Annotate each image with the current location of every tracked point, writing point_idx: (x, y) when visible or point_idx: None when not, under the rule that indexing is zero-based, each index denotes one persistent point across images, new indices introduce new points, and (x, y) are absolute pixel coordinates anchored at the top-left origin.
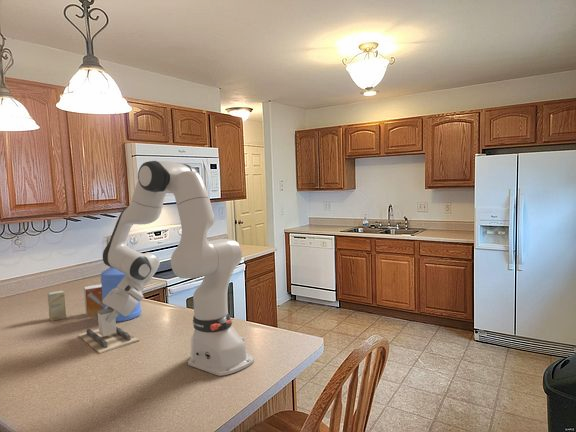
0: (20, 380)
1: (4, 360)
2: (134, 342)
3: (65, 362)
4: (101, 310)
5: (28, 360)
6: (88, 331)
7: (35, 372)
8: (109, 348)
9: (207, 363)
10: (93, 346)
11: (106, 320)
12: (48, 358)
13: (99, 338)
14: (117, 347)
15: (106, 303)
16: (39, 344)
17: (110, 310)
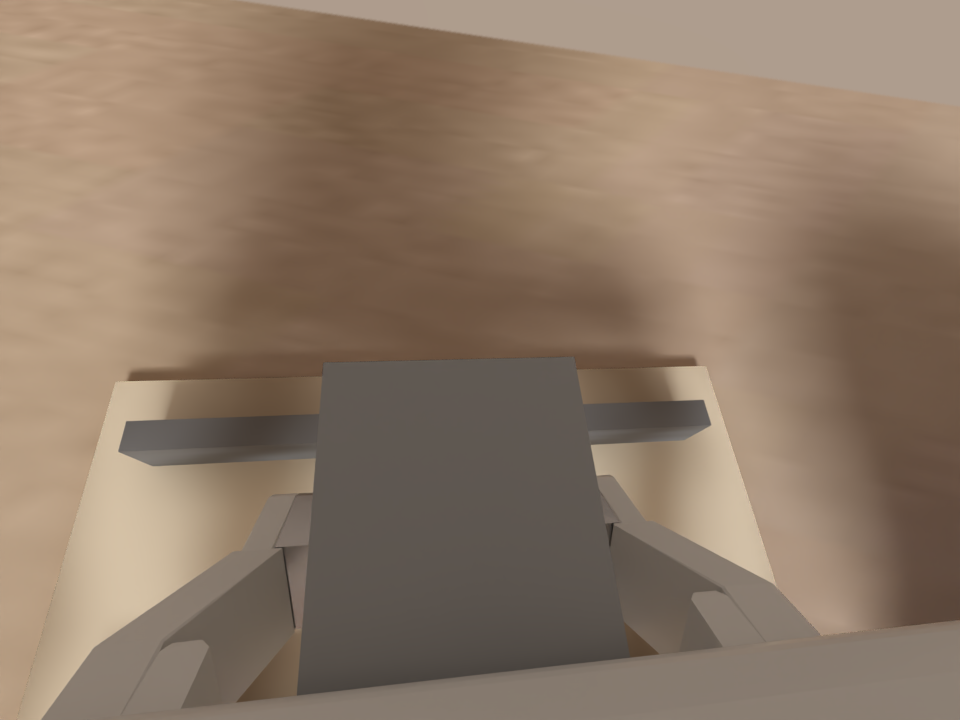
0: (202, 33)
1: (542, 45)
2: None
3: (220, 193)
4: (549, 432)
5: (449, 95)
6: (634, 404)
7: (236, 81)
8: (102, 473)
9: None
10: (305, 379)
11: (303, 494)
12: (388, 153)
13: (308, 422)
14: (71, 557)
15: (911, 658)
16: (680, 171)
17: (341, 627)
